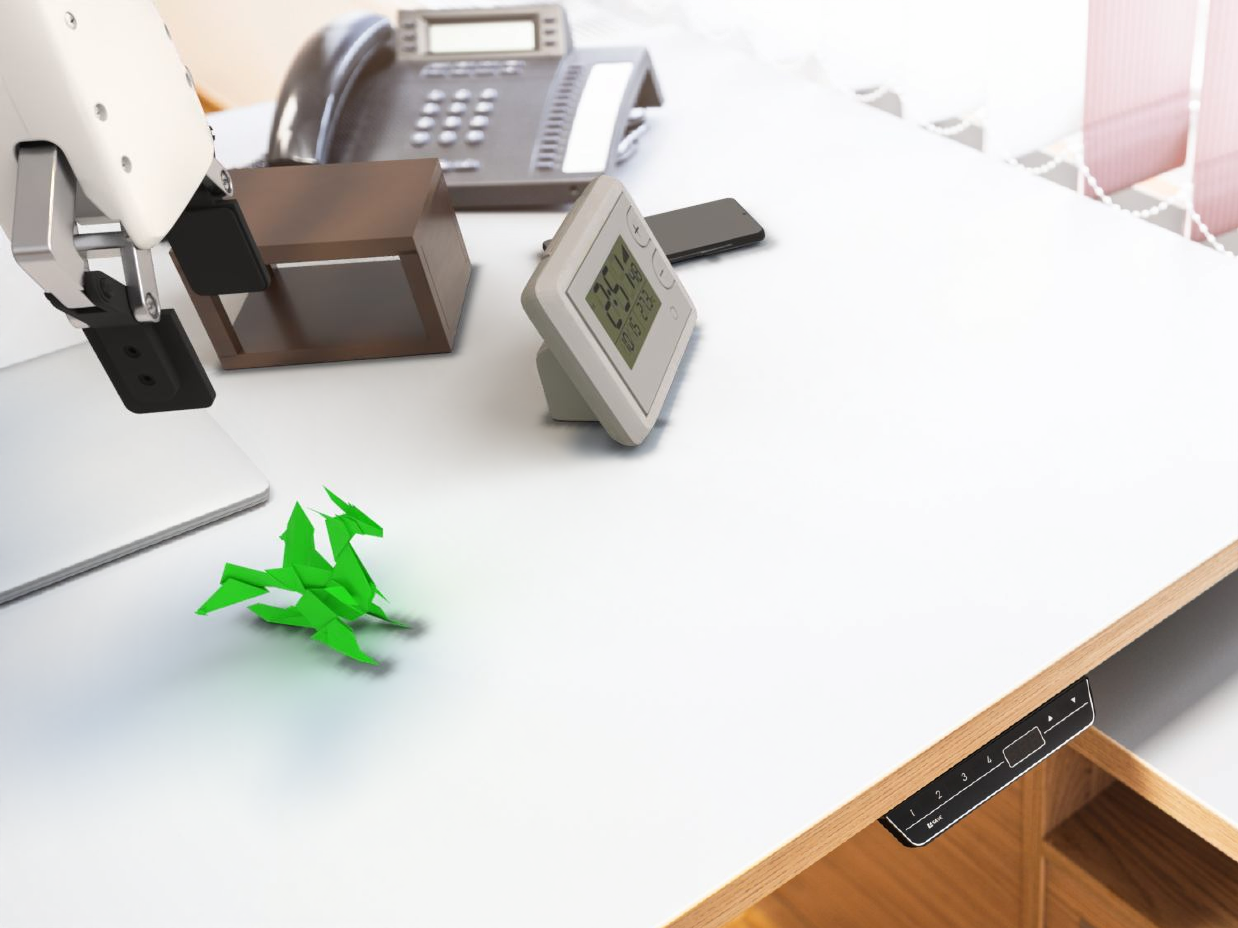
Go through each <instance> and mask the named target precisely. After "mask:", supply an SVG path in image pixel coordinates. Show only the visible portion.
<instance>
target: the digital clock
mask: <svg viewBox="0 0 1238 928" xmlns="http://www.w3.org/2000/svg"><path fill="white" fill-rule="evenodd" d="M643 217H644V215H643V214H642V212H641V210H640V209H639V208H638V206H637V203H636V202H635V200H634V199H633V197H632V196H631V194H630V192H629V191H628V189H627V187H626V186H625V184H624V183H623V182H622V181H621V180H619V179H617V178H616V177H613V176H611V175H608V174H601V175H599V176H596V177H594V178H593V179H592V180H591V181H590V182H589V183H588V184H587V186H586V187H585V188H584V190H583V191H582V193H581V194H580V196H579V197H577V198H576V199H575V202H574V203H573V204H572V206H571V208H570V209H569V211H568V212H567V214H566V215H565V217H564V219H563V221H562V222H561V224H560V225H559V227H558V229H557V230H556V231H555V233H554V236H552V238H551V239H552V240H551V242H550V243H549V245H548V247H547V248H546V250H545V251H544V250H543V253H542V255H541V257H540V261H539V262H538V264H537V266H536V268H535V269H534V270H533V273H532V274H531V276H530V277H529V279H528V281H527V283H526V284H525V286H524V287H523V290H522V292H521V294H520V304H521V307H522V310H523V311H524V313H525V315H526V316H527V318H528V319H529V321H530V322H531V324H532V325H533V326H534V328H535V329H536V331H537V333H538V335H540V337H541V339H542V340H543V342H542V343H541V345H540V347H539V349H538V350H537V353H536V356H535V364H536V369H537V374H538V377H539V380H540V383H541V387H542V390H543V393H544V397H545V401H546V404H547V407H548V410H549V414H550V417H551V419H553V420H557V421H570V422H572V421H573V422H575V421H576V422H599V423H600V424H601V426H602V427H603V428H604V430H605V431H606V433H607V434H608V435H609V436H610V437H611V439H612V440H614V441H616V442H617V443H619V444H621V445H622V446H623V445H624V446H626V447H632V446H638V445H641V444H642V443H643V442H644V441H645V439H646V438H647V437H648V436H649V434H650V432H651V430H652V429H653V428H654V426H655V424H656V423H657V419H658V417H659V416H660V413H661V411H662V408H663V406H664V403H665V400H666V397H667V396H668V393H669V391H670V388H671V386H672V383H673V381H674V378H675V376H676V373H677V371H678V369H679V366H680V363H681V361H682V359H683V356H684V354H685V351H686V350H687V347H688V345H689V341H690V339H691V337H692V334H693V331H694V329H695V326H696V323H697V319H698V311H697V308H696V306H695V304H694V302H693V300H692V298H691V297H690V295H689V293H688V290H687V289H686V287H685V286H684V284H683V283H682V281H681V279H680V278H679V276H678V274H677V273H676V271H675V269H674V268H673V265H672V263H670V262H669V260H668V259H667V257H666V255H665V254H664V252H663V250H662V248H661V247H660V245H659V243H658V242H657V240H656V238H655V236H654V235H653V233H652V231H651V230H650V228H649V226H648V224H647V223H646V221H645V219H644V218H643Z"/></svg>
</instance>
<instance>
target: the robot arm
mask: <svg viewBox="0 0 1238 928" xmlns="http://www.w3.org/2000/svg"><path fill="white" fill-rule="evenodd" d="M213 131H214V129H213V127H212V126H211V125H210V124H209V121H208V119H207V116H206V114H205V111H204V108H203V105H202V104H201V101H200V98H199V96H198V93H197V90H196V86H195V83H194V79H193V75H192V73H191V71H190V69H189V68H188V66H186V64H185V63H184V61H183V59H182V57H181V54H180V52H179V50H178V47H177V46H176V43H175V41H174V39H173V38H172V35H171V33H170V31H169V29H168V27H167V25H166V23H165V21H164V18H163V16H162V14H161V12H160V10H159V8H158V6H157V4H156V2H155V0H0V227H1V229H2V231H3V232H4V234H5V236H6V237H7V239H8V240H9V242H10V248H11V249H10V250H11V253H12V257H13V259H14V261H15V262H16V264H17V265H18V266H19V268H20V269H21V270H22V271H24V272H25V273H26V274H27V275H28V277H30V278H31V280H32V281H34V282H35V283H36V285H38V286H39V287H40V288H41V289H42V290H43V291H44V292H43V295H44V296H45V299H46V300H47V301H48V302H49V303H50V304H51V306H53V307H54V308H55V309H57V310H58V311H60V312H61V313H64V314H65V316H66V319H67V320H68V322H69V324H70V325H71V326H72V327H73V328H74V329H78V330H82V332H83V334H84V336H85V338H86V340H87V341H88V343H89V345H90V346H91V348H92V350H93V352H94V353H95V355H96V357H97V359H98V361H99V363H100V364H101V366H102V368H103V370H104V371H105V374H106V375H107V377H108V379H109V381H110V383H111V385H112V386H113V388H114V390H115V391H116V393H117V395H118V397H119V399H120V401H121V402H122V404H123V406H124V408H125V409H126V410H127V411H129V412H131V413H133V414H136V415H143V414H154V413H167V412H179V411H189V410H200V409H207V408H211V407H212V405H213V404H214V402H215V399H216V398H217V392H216V390H215V388H214V386H213V384H212V382H211V380H210V378H209V375H208V374H207V372H206V370H205V368H204V366H203V364H202V361H201V359H200V358H199V356H198V354H197V352H196V350H195V347H194V346H193V344H192V341H191V340H190V338H189V335H188V334H187V332H186V330H185V328H184V326H183V324H182V322H181V320H180V317H179V315H178V313H177V311H176V309H175V308H174V307H173V308H171V307H170V308H162V307H161V302H160V296H159V291H158V285H157V278H156V273H155V268H154V261H153V255H152V249H153V248H154V247H156V246H157V245H159V243H161V241H162V240H164V238H165V237H166V239H167V242H168V243H169V245H170V247H171V248H172V250H173V252H174V254H175V256H176V258H177V260H178V262H179V264H180V266H181V268H182V271H183V273H184V275H185V277H186V279H187V281H188V283H189V285H190V287H191V289H192V290H193V292H195V293H196V294H198V295H200V296H212V295H219V296H222V295H223V296H224V295H236V294H237V295H238V294H248V293H250V292H262V291H266V290H267V289H268V287H269V285H270V283H271V277H270V275H269V273H268V270H267V268H266V266H265V264H264V261H263V259H262V257H261V254H260V252H259V250H258V247H257V245H256V243H255V241H254V238H253V236H252V234H251V231H250V229H249V227H248V224H247V222H246V220H245V217H244V215H243V213H242V211H241V208H240V206H239V204H238V201H237V199H228V200H223V198H222V197H230V196H232V195H233V184H232V180H231V177H230V175H229V173H228V171H227V170H228V169H226V168H225V166H224V165H223V164H222V163H221V162H220V161H218V159H217V158H216V150H215V143H214V142H215V140H216V135H215V134H213ZM78 224H79V226H94V225H108V224H109V225H110V224H119V226H120V230H115V231H101V232H89V233H80V232H79V227H78ZM171 248H170V249H171ZM119 257H120V259H121V263H122V269H123V275H124V280H125V281H124V282H125V284H124V283H122V282H120V281H118V280H117V279H116V278H114V277H112V276H110V275H108V274H107V273H105V272H103V271H102V270H91V269H90V264H89V260H93V259H94V260H95V259H107V258H108V259H109V258H119Z"/></svg>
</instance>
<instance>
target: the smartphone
mask: <svg viewBox="0 0 1238 928" xmlns="http://www.w3.org/2000/svg"><path fill="white" fill-rule="evenodd" d="M643 218H644V219H645V221H646V223H647V224H648V226H649V228H650V230H651V231H652V233H653V235H654V236H655V238H656V240H657V242H658V243H659V245H660V247H661V248H662V250H663V252H664V254H665V255H666V257H667V259H668V260H669V262H670V264H672V263H675V262H680V261H683V260H688V259H692V258H696V257H700V256H704V257H705V256H709V255H712V254H716V253H719V252H724V251H728V250H731V249H736V248H739V247H744V246H747V245H751V244H756V243H760V242H762V241H764V240H765V238H766V230H765V229H764V227H762V225H761V224H760V223H759V222H758V221H757V220H756V219H755V218H754V217H753V216H752V215H751V214H750V213H749V211H747V210H746V209H745V208H744V207H743V206H742V205H741V204H740V202H738V201H737V200H736V199H735V198H733V197H725V198H721V199H720V198H719V199H716V200H712V201H708V202H707V201H706V202H703V203H699V204H694V205H690V206H687V207H682V208H678V209H677V208H676V209H673V210H669V211H665V212H661V213H656V214H652V215H648V216H643ZM551 240H552V238H550V239H546V240H544V241H543V242H542V250H543V252H544V251H545V250H546V248H547V247H548V245H549V243H550V242H551Z"/></svg>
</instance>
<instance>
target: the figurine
mask: <svg viewBox="0 0 1238 928" xmlns="http://www.w3.org/2000/svg"><path fill="white" fill-rule="evenodd" d="M322 487H323V489H324V490H325V491H326V493H327V496H329V498H330V500H331V502H333V503H334V504H335V505H336V506H337V507H338V508H340V510H341V511H342V512H343V514H340V515H338V514H336V513H334V516H330V515H328V514H325V513H323V512H321V511H317V510H314V509H313V508H310V507H308V506H304V505H303V506H302V505H301V504H300V503H299V501H298V500H296V502H295V504H294V507H293V509H292V512H291V514H290V516H289V519H288V521H287V523H286V529H285V530H284V531H283V533H282V534H281V535H279V536H278V537H279V539H280V540H281V541H283V542H284V551H283V559H282V567H277V568H268V569H264V571H262V570H258V569H253V568H249V567H247V566H242V565H238V564H234V563H230V562H225V565H224V568H223V571H222V575H221V578H220V582H219V585H221V586H220V587H219V588H218V589H217V590H216V591H215V592H213V593H212V595H211V596H210V597H209V598H208V599H207V600H206V601H205V602H204V603H203V604H202V605H201V606H200V607H199V608H197V610H196V611H193V613H194V614H196V615H197V616H206V617H207V616H209V615H208V613H211V612H215V611H218V610H220V609H223V608H226V607H230V606H233V605H236V604H238V603H242V602H244V601H248V600H251V599H253V598H257V597H260V596H264V595H265V594H269V593H271V591H270V590H269V589H268V588H275V589H279V590H280V589H281V590H285V591H289V592H293V593H294V592H295V593H298V594H301V596H300V598H299V600H298V601H297V602H296V604H295V605H290V606H288V607H286V608H282V607H277V606H272V605H269V604H265V603H261V602H257V603H254V604H251V605H248V606H246V609H248V610H250V611H251V612H252V613H254V614H255V615H257V616H258V617H260V618H261V619H262V620H264V621H265V622H267V623H272V624H273V623H274V624H280V625H289V626H296V627H303V628H311V629H314V630H316V632H315V633H313V635H311V636H310V637H309V638H310V639H313V640H314V641H317V642H320V643H322V644H325V645H327V647H329V648H331V649H333V650H335V651H337V652H339V653H342V654H344V655H346V656H347V657H350V658H352V659H354V660H355V661H357V662H361V663H367V664H372V665H375V666H380V664H379V663H378V662H376V661H375V660H374V659H373V658H371V657H370V656H368V655H367V654H366V653H365V652H363V651H362V650H361V649H360V646H359V644H358V640H357V639H356V636H355V633H353V631H354V629H353V628H352V627H351V626H349V625H348V623H347V622H345V621H344V620H343V619H345V620H346V621H350V622H354V621H356V620H358V619H359V618H361V617H362V616H366V617H368V618H369V619H370V620H373V618H371V617H374V618H377V619H379V620H382V621H385V622H388V623H391V624H393V625H394V624H395V625H398V626H402V627H403V626H404V627H409V628H412V626H410V625H408V624H404V623H402V622H398V621H396V620H392V619H390V618H389V617H388V615H387V614H386V613H385V612H384V610H383V609H382V608H381V607H380V606H379V605H377V604H376V603H374V602H373V601H374V599H375V596H376V594H377V595H378V596H379V597H380V598H381V599H383V600H384V601H386V602H387V603H389V604H390V601H388V599H387V598H386V597H385V596H384V594H383V593H382V592H381V591H380V590H379V589H378V586H377V584H376V583H375V582H374V580H373V578H372V576H371V575H370V573H369V572H368V570H367V568H366V567H365V565H364V563H363V562H362V560H361V559H360V557H359V555H358V553H357V552H356V550H355V548H354V547H353V546H352V544H351V540H352V539H353V538H354V536H355V535H356V534H357V535H361V536H365V535H366V536H372V537H376V538H383V539H384V528H383V527H382V526H381V525H379V524H378V523H377V522H376V521H374V520H373V519H372V518H371V517H370V516H368V515H367V514H366V513H364V512H363V511H362V510H361V509H359V508H358V507H357V506H355V505H354V504H353V503H352V504H351V503H350V502H349V501H348V502H346V501H344V500H343V499H341V498H340V497H339V496H337V495H336V494H335V493H333V491H331V490H330V489H328V488H327V487H326V486H325V485H322ZM302 507H304V508H307V509H308V510H310V511H313V512H315V513H318V514H319V515H320V516H321V517H323V518H324V523H325V526H326V530H327V535H328V539H329V544H330V547H331V552H332V555H333V559H334V562H335V564H334V566H332V565H331V564H330V562H328V561H327V559H325V557H323V555H322V554H321V553H319V551H318V550H317V549H316V544H315V535H314V534H315V530H316V528H315V527H314V526H313V524H312V522H311V521H310V519H309V517H308V516H307V514H306V512H305V510H304V509H303V508H302ZM370 616H371V617H370Z"/></svg>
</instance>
